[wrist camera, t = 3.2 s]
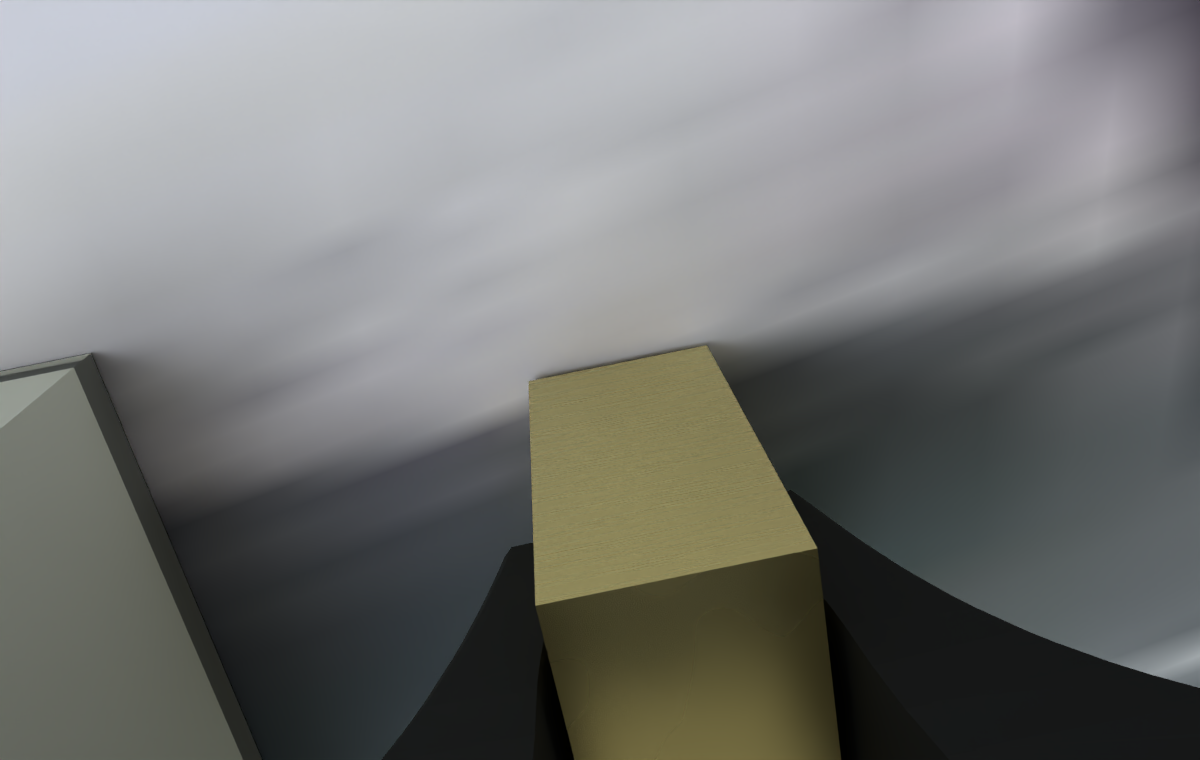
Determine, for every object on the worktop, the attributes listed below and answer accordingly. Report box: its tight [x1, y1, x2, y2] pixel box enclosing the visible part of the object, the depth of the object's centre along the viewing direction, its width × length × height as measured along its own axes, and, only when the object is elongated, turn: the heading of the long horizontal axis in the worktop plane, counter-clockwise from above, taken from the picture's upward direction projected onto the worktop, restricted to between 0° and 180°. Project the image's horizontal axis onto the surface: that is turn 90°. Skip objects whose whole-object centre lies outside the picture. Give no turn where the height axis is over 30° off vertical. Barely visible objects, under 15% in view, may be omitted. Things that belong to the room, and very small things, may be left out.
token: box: [529, 345, 841, 760], centre depth 11 cm, size 5×2×5 cm, turn 11°
